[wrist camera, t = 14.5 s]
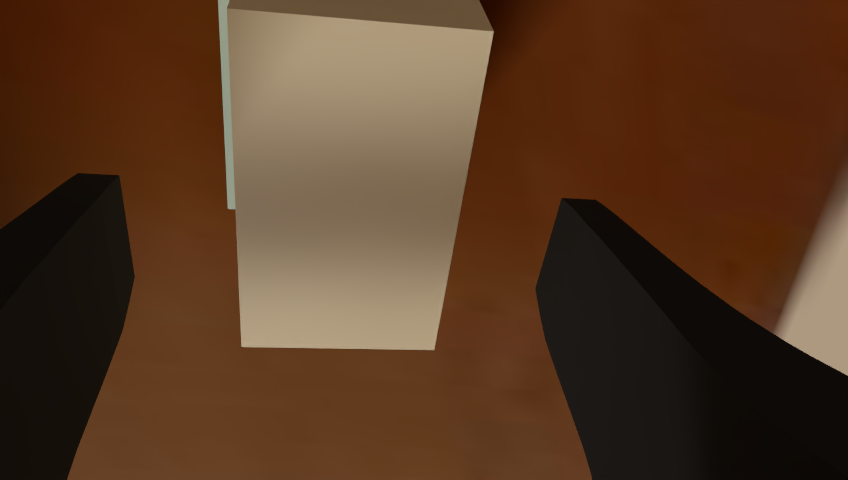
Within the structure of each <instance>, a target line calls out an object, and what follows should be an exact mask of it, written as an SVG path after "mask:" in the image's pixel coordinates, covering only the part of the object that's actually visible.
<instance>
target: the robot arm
mask: <svg viewBox="0 0 848 480" xmlns="http://www.w3.org/2000/svg"><path fill="white" fill-rule="evenodd" d="M134 277H135V276H134V270H133V263H132V256H131V250H130V243H129V237H128V230H127V223H126V217H125V210H124V204H123V197H122V190H121V184H120V177H119V175H101V174H82V173H78V174H76V175H74V176H73V177H71V178H70V179H68V180H67V181H66V182H64V183H63V184H61V185H60V186H59V187H57V188H56V189H55V190H53V191H52V192H51V193H49V194H48V195H47V196H45V197H44V198H43V199H41V200H40V201H39V202H37V203H36V204H35V205H33V206H32V207H31V208H29V209H28V210H27V211H25V212H24V213H22V214H21V215H20V216H18V217H17V218H16V219H14V220H13V221H11V222H10V223H9V224H7V225H6V226H4V227H3V228H2V229H0V480H67V478H68V475H69V472H70V469H71V466H72V463H73V460H74V457H75V454H76V451H77V448H78V445H79V443H80V440H81V438H82V435H83V433H84V430H85V427H86V425H87V422H88V420H89V417H90V414H91V412H92V409H93V407H94V404H95V402H96V399H97V396H98V394H99V391H100V389H101V386H102V384H103V381H104V378H105V376H106V373H107V371H108V368H109V365H110V363H111V360H112V357H113V355H114V352H115V349H116V347H117V344H118V341H119V339H120V336H121V333H122V330H123V326H124V322H125V318H126V314H127V310H128V305H129V301H130V296H131V291H132V287H133V282H134ZM536 295H537V300H538V306H539V311H540V317H541V321H542V326H543V331H544V336H545V340H546V343H547V346H548V349H549V352H550V355H551V357H552V360H553V363H554V366H555V369H556V372H557V375H558V378H559V381H560V383H561V386H562V389H563V392H564V395H565V397H566V400H567V403H568V406H569V409H570V411H571V414H572V417H573V420H574V423H575V425H576V428H577V431H578V434H579V437H580V440H581V442H582V445H583V448H584V452H585V455H586V458H587V461H588V465H589V468H590V471H591V475H592V480H848V376H847V375H845V374H843V373H841V372H840V371H838V370H836V369H834V368H832V367H830V366H828V365H826V364H824V363H822V362H821V361H819V360H817V359H815V358H813V357H811V356H809V355H808V354H806V353H804V352H803V351H801V350H799V349H797V348H796V347H794V346H792V345H790V344H789V343H787V342H785V341H784V340H782V339H781V338H779V337H778V336H776V335H774V334H773V333H771V332H770V331H768V330H766V329H765V328H763V327H762V326H760V325H758V324H757V323H755V322H754V321H752V320H750V319H749V318H747V317H746V316H745V315H743V314H742V313H740V312H739V311H737V310H736V309H734V308H733V307H731V306H730V305H729V304H727V303H726V302H725V301H723V300H722V299H720V298H719V297H718V296H716V295H715V294H714V293H712V292H711V291H709V290H708V289H707V288H705V287H704V286H703V285H701V284H700V283H699V282H697V281H696V280H695V279H694V278H692V277H691V276H690V275H688V274H687V273H686V272H685V271H683V270H682V269H681V268H680V267H678V266H677V265H676V264H675V263H673V262H672V261H671V260H670V259H668V258H667V257H666V256H665V255H663V254H662V253H661V252H660V251H659V250H657V249H656V248H655V247H654V246H653V245H651V244H650V243H649V242H648V241H647V240H645V239H644V238H643V237H642V236H641V235H639V234H638V233H637V232H636V231H635V230H633V229H632V228H631V227H630V226H629V225H627V224H626V223H625V222H624V221H623V220H621V219H620V218H619V217H618V216H617V215H615V214H614V213H613V212H611V211H610V210H609V209H608V208H606V207H605V206H604V205H602V204H601V203H599V202H598V201H596V200H587V199H568V198H562V199H561V203H560V206H559V210H558V213H557V216H556V220H555V223H554V227H553V230H552V234H551V237H550V241H549V244H548V247H547V251H546V254H545V258H544V261H543V265H542V268H541V272H540V275H539V278H538V282H537V285H536Z"/></svg>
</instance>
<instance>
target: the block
mask: <svg viewBox="0 0 848 480" xmlns="http://www.w3.org/2000/svg"><path fill="white" fill-rule="evenodd" d="M227 27H228V50H229V72H230V95H231V118H232V141H233V163H234V186H235V209H236V232H237V254H238V277H239V300H240V322H241V345H242V347H278V348H341V349H403V350H434V348H435V343H436V337H437V332H438V327H439V321H440V316H441V311H442V305H443V300H444V295H445V289H446V284H447V279H448V273H449V268H450V263H451V257H452V252H453V247H454V241H455V236H456V231H457V225H458V220H459V215H460V209H461V204H462V199H463V193H464V188H465V183H466V177H467V172H468V167H469V161H470V156H471V151H472V145H473V140H474V135H475V129H476V124H477V119H478V113H479V108H480V103H481V97H482V92H483V87H484V81H485V76H486V71H487V65H488V60H489V55H490V49H491V44H492V39H493V33H494V31H493V29H492V27H491V24H490V22H489V20H488V18H487V16H486V14H485V12H484V10H483V7H482V5H481V3H480V1H479V0H230V1H229V3H228V6H227Z"/></svg>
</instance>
